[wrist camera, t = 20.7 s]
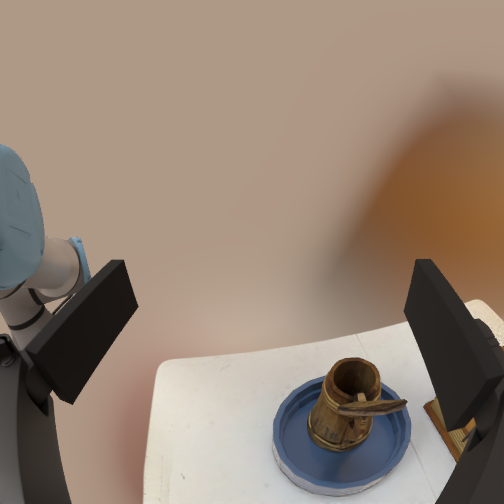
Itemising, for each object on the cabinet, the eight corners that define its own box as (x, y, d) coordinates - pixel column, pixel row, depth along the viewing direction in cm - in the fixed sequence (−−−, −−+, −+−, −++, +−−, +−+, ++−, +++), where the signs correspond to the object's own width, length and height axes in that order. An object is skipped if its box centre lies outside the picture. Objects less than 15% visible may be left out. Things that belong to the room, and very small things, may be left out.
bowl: (248, 432, 33) (245, 417, 31) (341, 374, 41) (345, 355, 39) (330, 521, 20) (336, 516, 18) (422, 435, 27) (434, 420, 26)
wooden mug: (305, 483, 25) (324, 416, 17) (306, 400, 37) (315, 303, 29) (376, 477, 23) (436, 402, 15) (365, 397, 35) (395, 300, 27)
